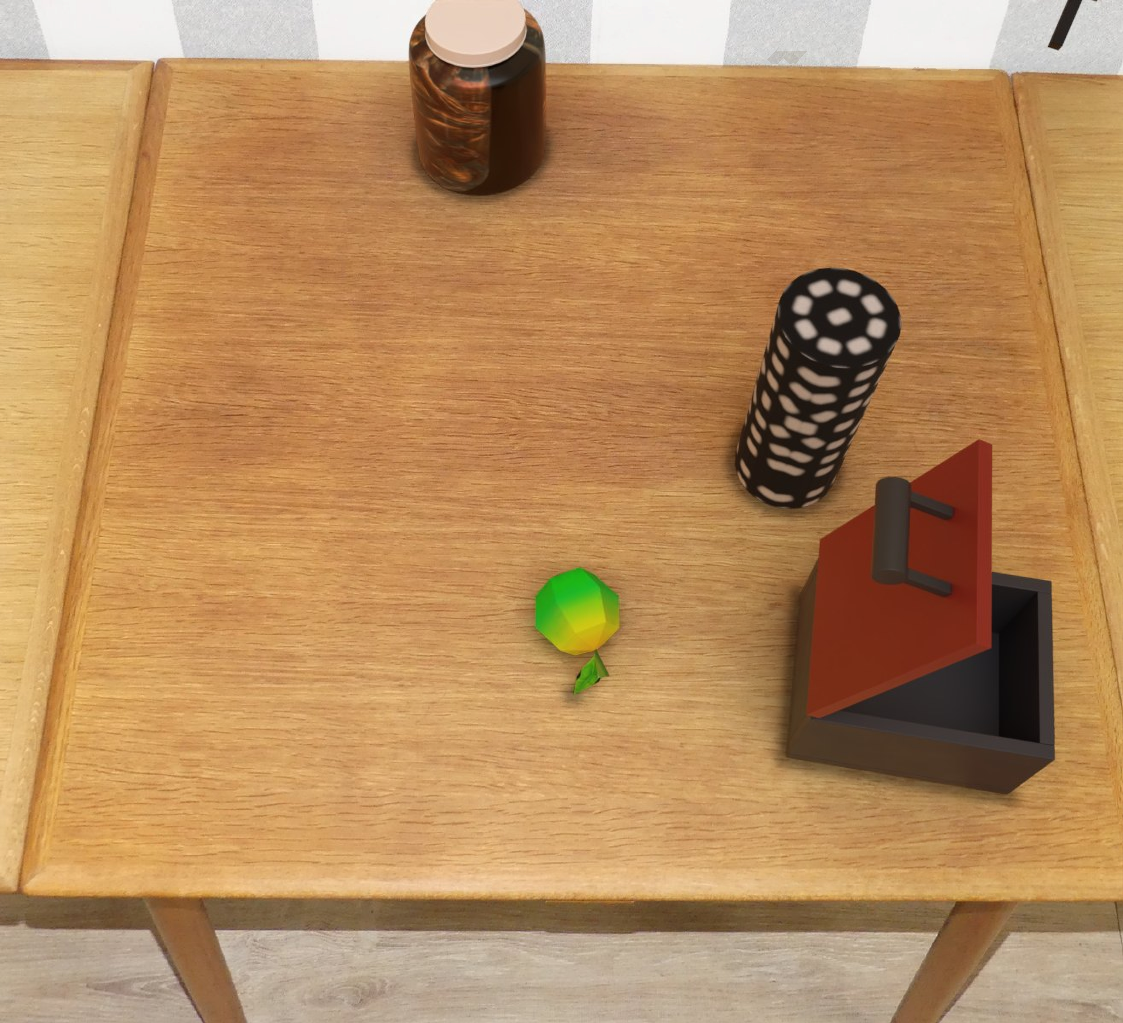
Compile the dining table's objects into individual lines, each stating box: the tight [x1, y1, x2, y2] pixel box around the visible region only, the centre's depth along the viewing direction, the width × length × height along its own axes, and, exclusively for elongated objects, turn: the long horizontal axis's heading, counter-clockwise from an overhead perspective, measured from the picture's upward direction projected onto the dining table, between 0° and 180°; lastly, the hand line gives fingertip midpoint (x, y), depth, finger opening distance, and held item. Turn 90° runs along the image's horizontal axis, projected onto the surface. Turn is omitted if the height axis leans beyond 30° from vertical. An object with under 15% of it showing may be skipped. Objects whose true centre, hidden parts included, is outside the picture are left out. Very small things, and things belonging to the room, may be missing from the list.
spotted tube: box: [734, 267, 902, 510], centre depth 91 cm, size 8×8×20 cm
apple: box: [534, 566, 621, 696], centre depth 90 cm, size 7×6×9 cm
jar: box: [408, 0, 547, 196], centre depth 108 cm, size 12×12×15 cm
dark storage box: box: [785, 556, 1056, 795], centre depth 87 cm, size 16×13×9 cm
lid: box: [806, 438, 993, 718], centre depth 75 cm, size 17×13×6 cm
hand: (954, 16), depth 82 cm, fingers open, 13 cm apart
